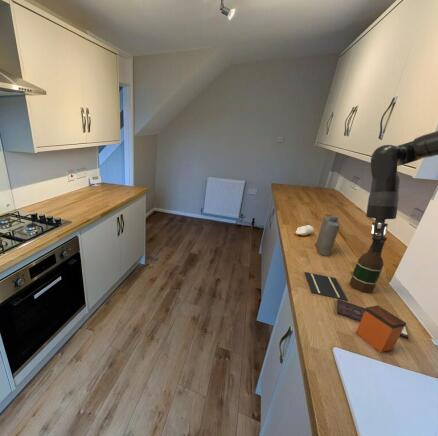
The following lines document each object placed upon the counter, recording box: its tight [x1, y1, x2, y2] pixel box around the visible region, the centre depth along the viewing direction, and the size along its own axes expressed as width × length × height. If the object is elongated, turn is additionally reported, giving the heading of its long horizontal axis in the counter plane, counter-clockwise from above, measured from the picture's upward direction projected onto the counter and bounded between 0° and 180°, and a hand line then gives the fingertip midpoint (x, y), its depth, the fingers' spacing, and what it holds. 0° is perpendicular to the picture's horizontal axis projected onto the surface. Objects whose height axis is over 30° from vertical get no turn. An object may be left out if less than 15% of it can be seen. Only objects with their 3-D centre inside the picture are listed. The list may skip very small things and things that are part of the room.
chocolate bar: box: [336, 299, 409, 340], centre depth 84 cm, size 9×1×18 cm
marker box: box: [355, 304, 407, 353], centre depth 73 cm, size 5×8×10 cm, turn 12°
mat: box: [304, 271, 349, 302], centre depth 101 cm, size 12×16×1 cm
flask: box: [315, 215, 341, 257], centre depth 128 cm, size 15×6×20 cm, turn 154°
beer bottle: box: [349, 236, 388, 294], centre depth 96 cm, size 8×8×24 cm
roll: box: [295, 224, 315, 236], centre depth 149 cm, size 6×12×6 cm, turn 116°
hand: (376, 249), depth 84 cm, fingers open, 8 cm apart
